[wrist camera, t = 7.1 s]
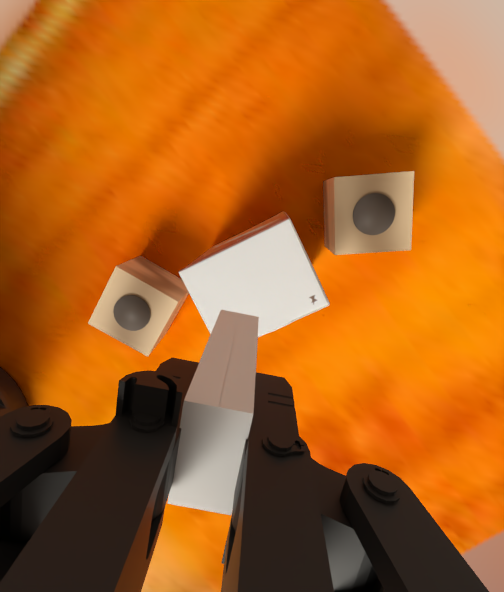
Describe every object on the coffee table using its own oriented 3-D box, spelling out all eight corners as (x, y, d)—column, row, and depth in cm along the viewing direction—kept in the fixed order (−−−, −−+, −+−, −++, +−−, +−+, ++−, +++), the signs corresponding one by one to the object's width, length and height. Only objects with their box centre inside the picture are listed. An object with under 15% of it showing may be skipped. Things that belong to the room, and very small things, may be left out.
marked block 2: (324, 245, 35) (335, 255, 29) (323, 181, 33) (334, 177, 27) (387, 241, 34) (412, 250, 28) (388, 176, 33) (415, 170, 27)
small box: (284, 209, 34) (292, 215, 21) (311, 268, 35) (333, 306, 23) (209, 246, 35) (175, 272, 23) (238, 302, 37) (220, 355, 24)
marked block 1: (116, 304, 37) (86, 324, 32) (140, 255, 36) (114, 266, 30) (166, 332, 38) (147, 357, 32) (193, 285, 37) (177, 302, 31)
